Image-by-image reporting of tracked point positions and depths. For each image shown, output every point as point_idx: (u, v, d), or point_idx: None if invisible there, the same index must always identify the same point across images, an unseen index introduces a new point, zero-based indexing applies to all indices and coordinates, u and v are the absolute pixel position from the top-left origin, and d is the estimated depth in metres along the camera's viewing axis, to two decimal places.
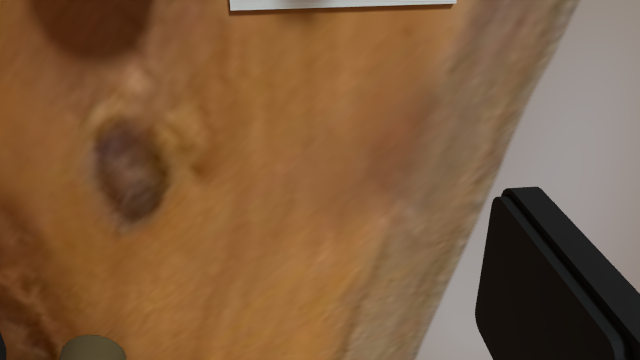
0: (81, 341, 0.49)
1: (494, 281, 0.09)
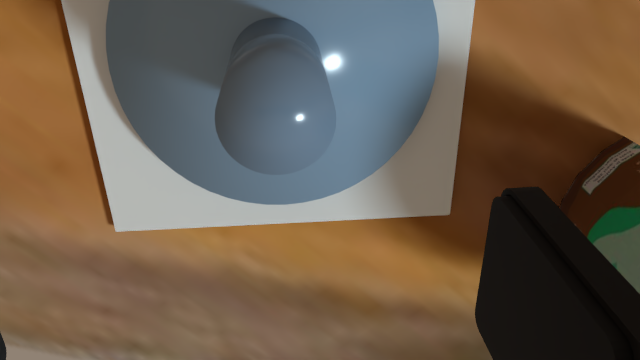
0: None
1: (494, 281, 0.09)
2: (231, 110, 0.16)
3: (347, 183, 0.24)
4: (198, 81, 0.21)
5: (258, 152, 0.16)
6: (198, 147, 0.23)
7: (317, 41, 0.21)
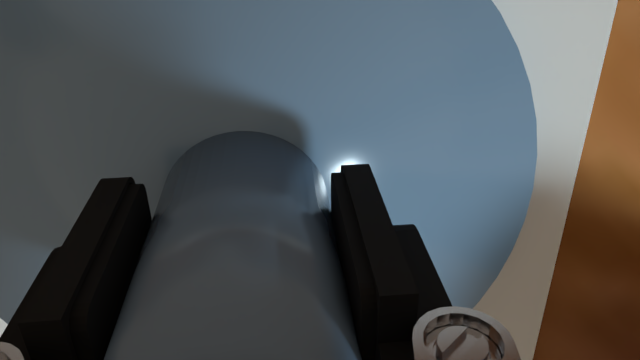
0: None
1: None
2: None
3: None
4: None
5: None
6: None
7: (320, 169, 0.11)
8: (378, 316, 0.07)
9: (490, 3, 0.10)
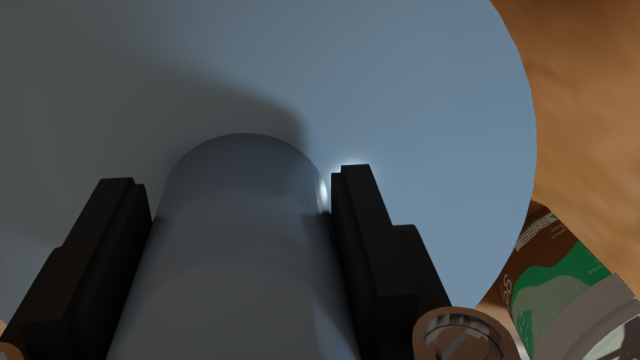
0: None
1: None
2: None
3: None
4: None
5: None
6: None
7: (320, 170, 0.11)
8: (378, 316, 0.07)
9: (490, 5, 0.10)
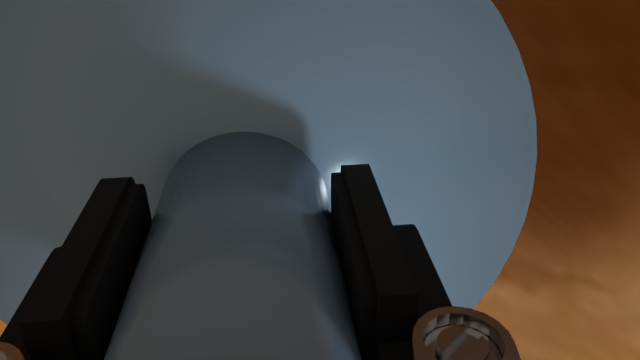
0: None
1: None
2: None
3: None
4: None
5: None
6: None
7: (320, 169, 0.11)
8: (378, 316, 0.07)
9: (490, 4, 0.10)
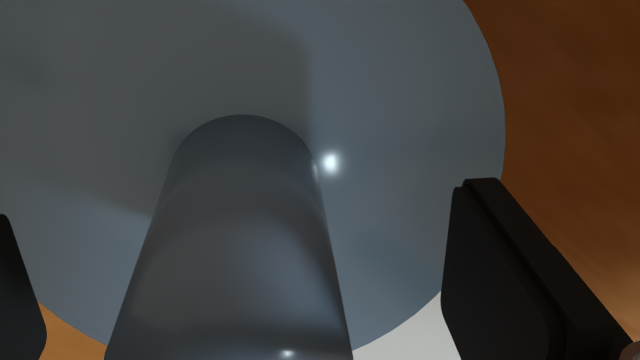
0: None
1: (455, 269, 0.10)
2: None
3: (356, 343, 0.16)
4: (118, 211, 0.13)
5: None
6: None
7: (311, 149, 0.13)
8: (568, 349, 0.06)
9: (461, 3, 0.11)
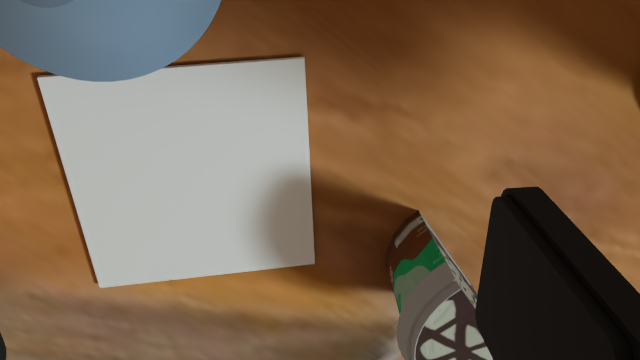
0: None
1: (494, 281, 0.09)
2: None
3: (167, 59, 0.27)
4: None
5: None
6: (22, 24, 0.25)
7: None
8: None
9: None
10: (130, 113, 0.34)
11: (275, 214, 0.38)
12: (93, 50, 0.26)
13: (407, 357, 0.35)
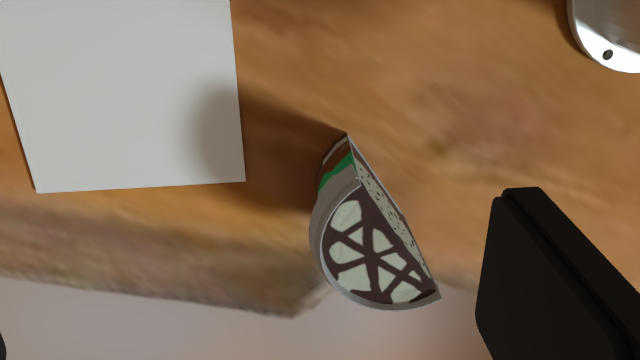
0: None
1: (494, 281, 0.09)
2: None
3: None
4: None
5: None
6: None
7: None
8: None
9: None
10: (60, 14, 0.35)
11: (204, 127, 0.40)
12: None
13: (316, 259, 0.36)
